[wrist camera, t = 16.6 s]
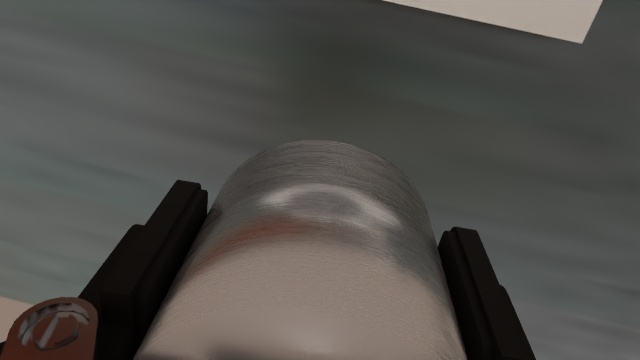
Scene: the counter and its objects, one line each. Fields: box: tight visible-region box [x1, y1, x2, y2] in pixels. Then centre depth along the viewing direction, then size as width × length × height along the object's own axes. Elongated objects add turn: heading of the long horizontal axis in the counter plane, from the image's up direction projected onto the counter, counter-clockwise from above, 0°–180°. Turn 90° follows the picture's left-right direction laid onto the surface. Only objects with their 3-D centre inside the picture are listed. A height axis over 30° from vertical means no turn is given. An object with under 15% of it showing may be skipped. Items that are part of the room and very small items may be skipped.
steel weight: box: [133, 140, 468, 360], centre depth 10 cm, size 6×6×6 cm
